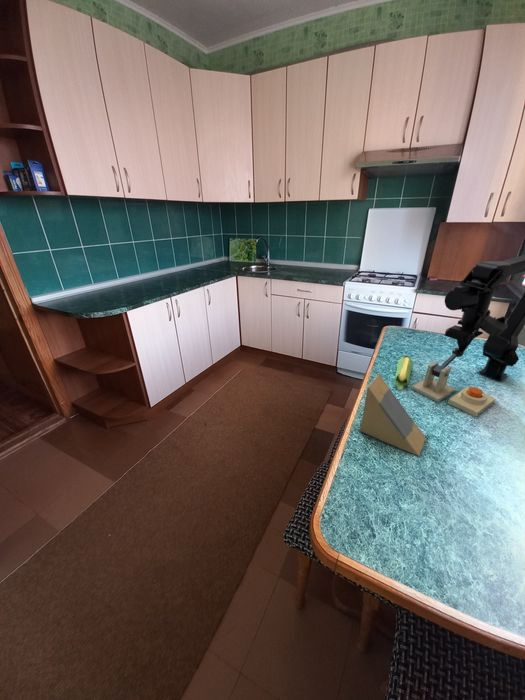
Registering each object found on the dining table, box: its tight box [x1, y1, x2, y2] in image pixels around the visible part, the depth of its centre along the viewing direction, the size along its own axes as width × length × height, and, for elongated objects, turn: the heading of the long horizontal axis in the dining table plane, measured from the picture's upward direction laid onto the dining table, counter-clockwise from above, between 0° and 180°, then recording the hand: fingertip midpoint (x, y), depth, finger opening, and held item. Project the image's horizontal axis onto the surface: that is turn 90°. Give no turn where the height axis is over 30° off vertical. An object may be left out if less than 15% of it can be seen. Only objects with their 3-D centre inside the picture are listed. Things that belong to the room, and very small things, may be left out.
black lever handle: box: [432, 347, 465, 378], centre depth 96 cm, size 14×3×3 cm, turn 123°
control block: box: [447, 386, 497, 418], centre depth 90 cm, size 12×8×4 cm, turn 123°
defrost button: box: [467, 386, 484, 398], centre depth 89 cm, size 4×4×2 cm
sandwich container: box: [359, 373, 426, 457], centre depth 76 cm, size 9×15×15 cm, turn 52°
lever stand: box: [411, 361, 456, 403], centre depth 95 cm, size 10×9×9 cm
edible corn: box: [394, 355, 414, 391], centre depth 104 cm, size 5×20×5 cm, turn 151°
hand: (461, 351), depth 94 cm, fingers closed
